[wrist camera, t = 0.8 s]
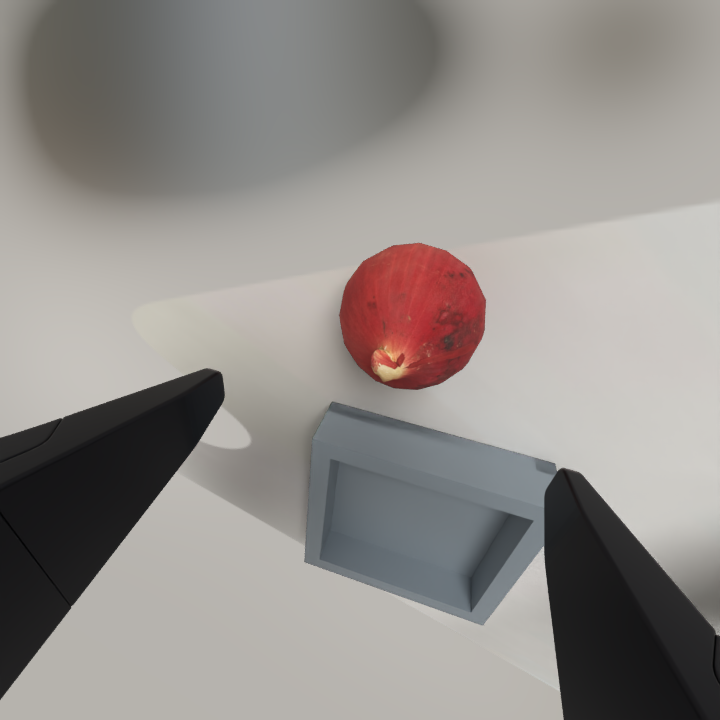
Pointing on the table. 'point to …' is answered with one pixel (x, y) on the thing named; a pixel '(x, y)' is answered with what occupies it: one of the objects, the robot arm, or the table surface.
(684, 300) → the table surface
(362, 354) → the onion
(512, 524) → the tray
